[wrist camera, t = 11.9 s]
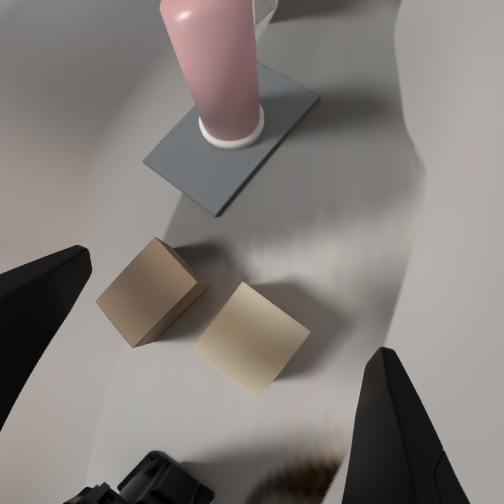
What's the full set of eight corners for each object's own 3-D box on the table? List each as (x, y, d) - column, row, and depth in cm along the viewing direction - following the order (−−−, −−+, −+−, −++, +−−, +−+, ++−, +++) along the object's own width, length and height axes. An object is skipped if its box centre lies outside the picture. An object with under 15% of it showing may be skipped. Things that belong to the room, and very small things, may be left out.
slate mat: (215, 217, 23) (214, 215, 22) (144, 163, 24) (142, 161, 24) (318, 98, 24) (319, 96, 24) (247, 61, 26) (247, 58, 25)
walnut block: (154, 341, 22) (132, 348, 18) (121, 302, 22) (95, 301, 18) (209, 286, 22) (197, 282, 18) (173, 248, 23) (155, 236, 19)
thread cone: (236, 162, 23) (205, 36, 10) (188, 130, 24) (134, 12, 11) (277, 118, 24) (279, -12, 11) (229, 90, 24) (204, -31, 12)
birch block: (261, 381, 21) (259, 397, 17) (205, 340, 22) (192, 347, 18) (303, 327, 21) (311, 331, 17) (247, 285, 22) (242, 281, 18)
